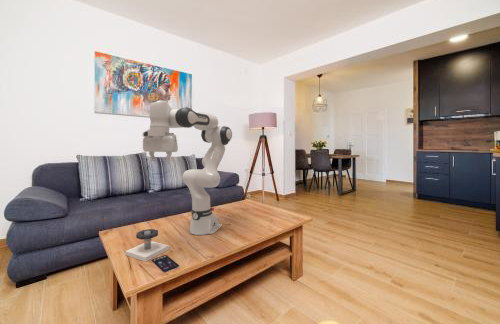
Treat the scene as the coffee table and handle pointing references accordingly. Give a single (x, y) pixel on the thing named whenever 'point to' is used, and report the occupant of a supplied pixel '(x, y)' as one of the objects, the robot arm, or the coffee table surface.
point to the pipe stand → (147, 249)
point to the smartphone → (165, 263)
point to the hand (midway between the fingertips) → (160, 161)
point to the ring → (141, 234)
